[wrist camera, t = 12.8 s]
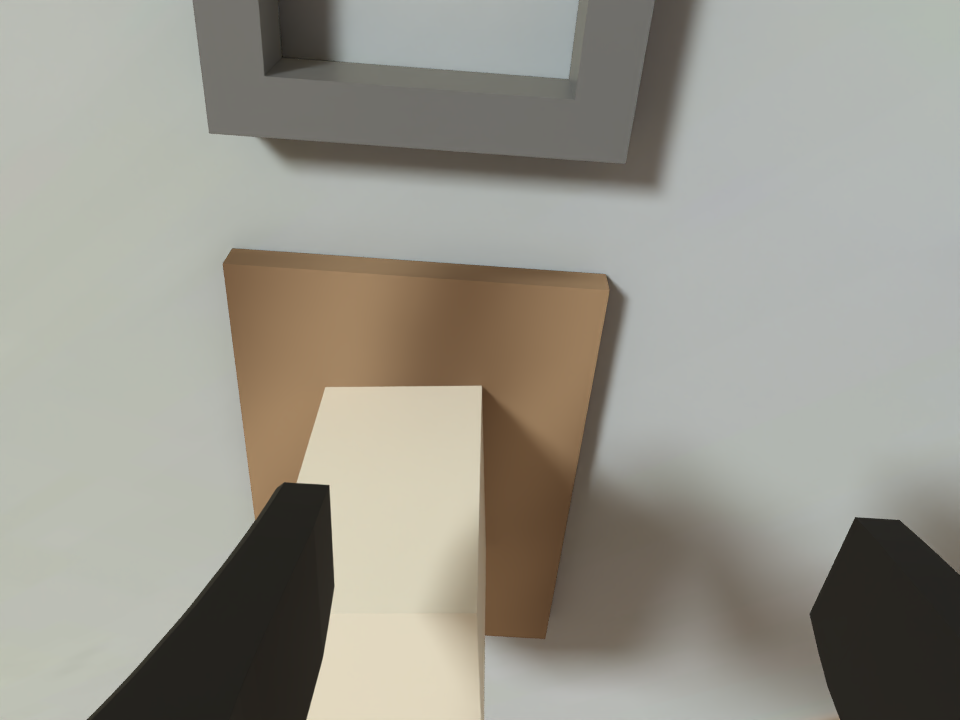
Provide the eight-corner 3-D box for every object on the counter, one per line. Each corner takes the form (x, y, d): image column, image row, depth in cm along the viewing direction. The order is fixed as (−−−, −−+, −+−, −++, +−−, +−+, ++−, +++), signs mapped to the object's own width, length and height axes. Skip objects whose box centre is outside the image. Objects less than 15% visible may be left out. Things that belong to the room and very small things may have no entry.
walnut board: (605, 274, 19) (609, 290, 18) (543, 618, 26) (545, 638, 26) (232, 248, 19) (222, 263, 18) (273, 602, 26) (268, 623, 25)
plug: (481, 385, 20) (477, 613, 14) (486, 549, 23) (483, 787, 18) (325, 387, 20) (256, 613, 14) (351, 550, 23) (305, 786, 18)
